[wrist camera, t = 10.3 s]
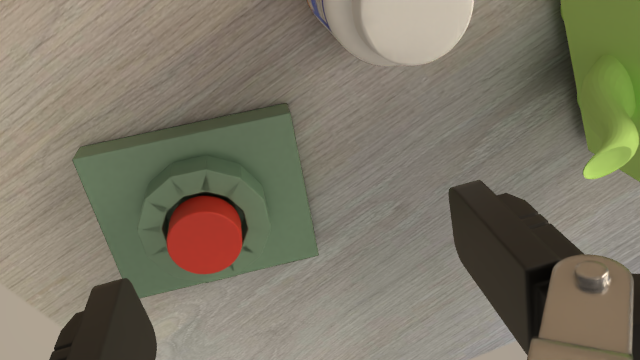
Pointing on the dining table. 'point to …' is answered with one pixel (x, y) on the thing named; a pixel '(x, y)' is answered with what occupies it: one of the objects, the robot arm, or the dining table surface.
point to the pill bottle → (395, 28)
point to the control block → (200, 193)
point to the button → (204, 235)
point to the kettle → (607, 80)
